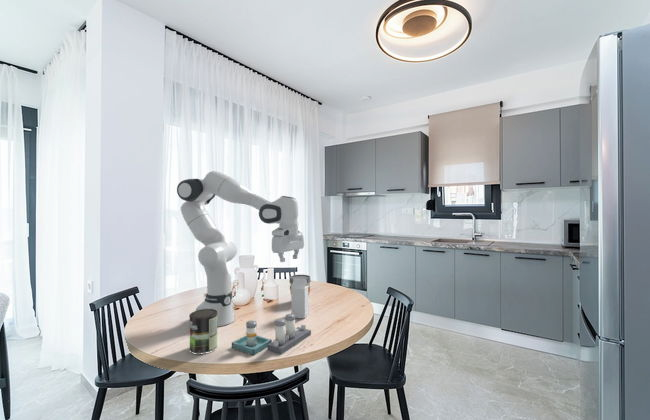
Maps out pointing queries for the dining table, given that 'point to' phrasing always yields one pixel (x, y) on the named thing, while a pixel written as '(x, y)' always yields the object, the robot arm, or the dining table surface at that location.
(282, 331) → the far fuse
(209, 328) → the coffee can
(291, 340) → the fuse block
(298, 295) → the milk carton
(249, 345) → the marked fuse
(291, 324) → the middle fuse
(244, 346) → the tray
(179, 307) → the dining table surface
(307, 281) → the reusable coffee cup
